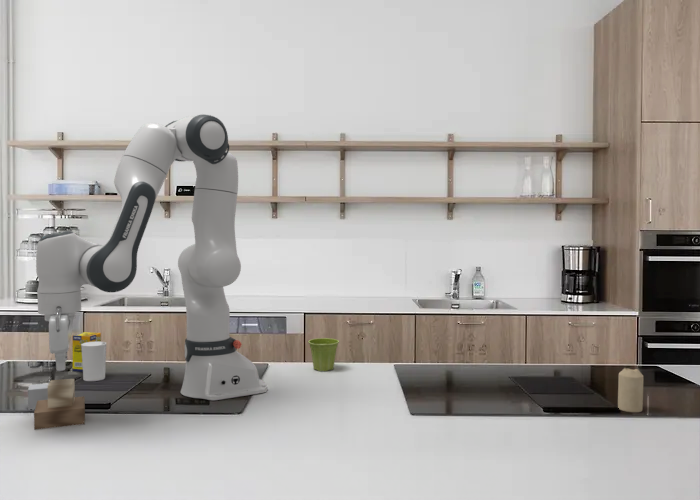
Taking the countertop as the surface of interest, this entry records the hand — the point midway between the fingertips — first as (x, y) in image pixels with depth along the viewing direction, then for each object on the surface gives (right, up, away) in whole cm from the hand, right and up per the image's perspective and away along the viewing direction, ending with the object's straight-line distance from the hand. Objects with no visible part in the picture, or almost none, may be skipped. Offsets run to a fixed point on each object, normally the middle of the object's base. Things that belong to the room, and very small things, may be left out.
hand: (62, 365), depth 141 cm
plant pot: (+57, -11, +51) cm, 77 cm away
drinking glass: (-8, -11, +37) cm, 39 cm away
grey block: (-10, -12, +10) cm, 19 cm away
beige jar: (+133, -13, +12) cm, 134 cm away
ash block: (0, -9, 0) cm, 9 cm away
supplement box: (-14, -10, +47) cm, 51 cm away
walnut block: (0, -13, 0) cm, 13 cm away
